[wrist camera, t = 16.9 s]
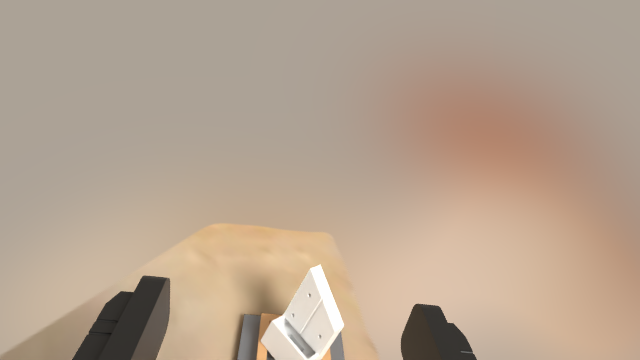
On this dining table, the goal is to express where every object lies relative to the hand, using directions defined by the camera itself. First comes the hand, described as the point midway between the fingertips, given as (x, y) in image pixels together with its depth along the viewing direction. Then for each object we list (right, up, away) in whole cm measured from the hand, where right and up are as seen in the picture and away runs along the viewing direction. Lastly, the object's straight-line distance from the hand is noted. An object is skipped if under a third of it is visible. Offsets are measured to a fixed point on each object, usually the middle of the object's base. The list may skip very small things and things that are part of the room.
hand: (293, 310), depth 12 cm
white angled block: (-3, -15, +29) cm, 33 cm away
